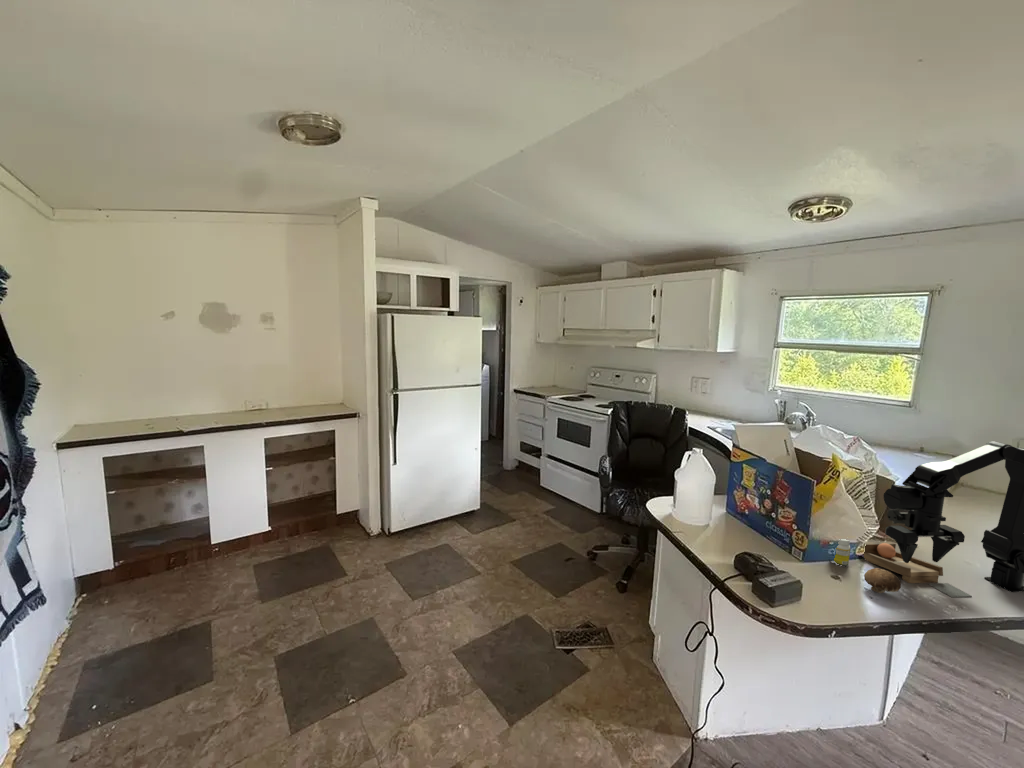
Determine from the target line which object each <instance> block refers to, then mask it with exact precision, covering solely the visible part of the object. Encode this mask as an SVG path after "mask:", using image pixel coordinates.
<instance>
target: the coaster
mask: <svg viewBox="0 0 1024 768" xmlns="http://www.w3.org/2000/svg"><path fill="white" fill-rule="evenodd" d="M927 585H928V586H930V587H932V588H933V589H935V590H938V591H940V592H941V593H942V594H944V595H946V596H948V597H950V598H972V597H973V596H972V595H971V594H970V593H967V592H966V591H964V590H961V589H960V588H958V587H956V586H954V585H952V584H950V583H948V582H937V583H927Z"/></svg>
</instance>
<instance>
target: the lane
mask: <svg viewBox="0 0 1024 768" xmlns="http://www.w3.org/2000/svg"><path fill="white" fill-rule="evenodd" d="M865 542H866V546H865V552H864V558H865V559H866V560H865V559H864V560H865V561H866V562H868V563H871V564H874V565H876V566H879V567H881V568H883V569H885V570H888V571H890V572H891V571H892V572H894V573H897V574H900V575H901V577H902V578H901V579H902V580H903V581H904V582H906V583H908V584H926V583H927V584H931V583H939V577H942V576H943V577H944V571H943V570H944V568H943V566H940V565H937V564H934V563H931V562H927V561H926V560H922V559H919V558H916V557H913V556H912V558H911V560H910V561H909V563H905V562H904V561H903V558H902V555H901V552H900V551H899V552H898V551H896V554H895V556H894V557H893V558H884V557H882V556H881V555H880V554H879V553H878V551H877V547H878V545H879V544H882V543H887V544H890V545H891V546H893V547H894V549H895V550H896V547H897V543H895V542H893V541H871V542H869V541H868V542H867V541H865Z"/></svg>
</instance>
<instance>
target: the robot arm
mask: <svg viewBox="0 0 1024 768" xmlns="http://www.w3.org/2000/svg"><path fill="white" fill-rule="evenodd" d="M1003 460H1004V461H1005V464H1004V468H1005V470H1006V472H1007V474H1008V477H1009V482H1008V486H1007V490H1006V494H1005V497H1004V501H1003V503H1002V507H1001V512H1000V515H999V519H998V522H997V523H998V524H997V526H996V527H994V528H993V529H991V530H990V529H989V530H988V529H985V530H984V531H983V537H982V539H981V541H980V543H982V549H984V551H985V556H986V558H988V559H991V560H993V565H992V568H991V572H990V573H991V574H990V576H985V577H983V579H984V580H986V581H988V582H990V583H992V584H993V583H994V585H995V584H996V585H995V586H998V587H1000V588H1002V589H1004V590H1006V591H1007V592H1010V591H1011V592H1013V593H1014V592H1015V593H1017V592H1019V591H1022V592H1024V447H1015V446H1012V445H1011V444H1007V443H1003V442H998V441H994V440H993V441H988V442H986V443H985V445H983V446H980V447H977V448H975V449H973V450H971V451H968V452H965V453H962V454H960V455H958V456H955V457H953V458H950V459H948V460H944V461H931V462H927V463H923V464H919V465H917V466H916V467H915V470H913V471H912V473H911V474H910V475H909V476H908V477H907V478H906V479H905V480H904V481H903V482H902V485H900V484H891V486H890V488H887V489H886V490H885V492H884V493H883V501H884V504H885V506H887V507H888V508H889V509H888V510H887V515H886V516H887V519H888V520H889V521H891V522H892V523H893V524H902V525H903V524H904V526H905V527H904V526H901V525H888V526H886V527H885V535H886V536H888V537H889V538H890V539H892V540H894V541H895V542H896V545H897V546H898V549H899V553H901V555H902V558H903V561H904V562H905V563H909V561H910V560H911V558H912V557H913V555H914V554H915V552H916V549H917V547H918V543H917V542H918V541H919V538H930V539H931V540H932V552H931V553H932V554H931V559H932V561H933V562H934V563H938V562H939V561H941V560H942V559H943V558H944V557H945V556H946V555H947V554H948V553H949V552H950V551H952V550H953V549H954V548H955V547H956V546H959V545H960V543H964V542H965V537H966V535H964V533H963V531H961V530H959V529H956V528H953V527H951V526H949V525H946V524H941V523H942V522H946V520H947V517H945V516H943V511H944V510H943V509H944V505H945V504H944V503H945V498H953V497H954V495H953V493H952V492H950V491H949V489H951V488H952V487H953V486H955V485H957V484H959V481H960V480H961V478H963V477H964V476H966V475H968V474H969V475H970V474H971V473H974V472H977V471H979V470H981V469H984V468H986V467H989V466H991V465H993V464H996V463H998V462H1001V461H1003ZM899 510H904V511H907V512H904V511H902V512H901V511H899ZM908 528H909V529H908ZM1011 592H1010V593H1011Z"/></svg>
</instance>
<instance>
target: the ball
mask: <svg viewBox="0 0 1024 768" xmlns="http://www.w3.org/2000/svg"><path fill="white" fill-rule="evenodd" d="M877 551H878V553H879V554H880V555H881V556H882V557H884V558H893V557H894V556H895V554H896V552H897V551H896V548H895V549H894V547H893V546H891V545H890V544H887V543H882V544H879V545H878V547H877Z"/></svg>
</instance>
